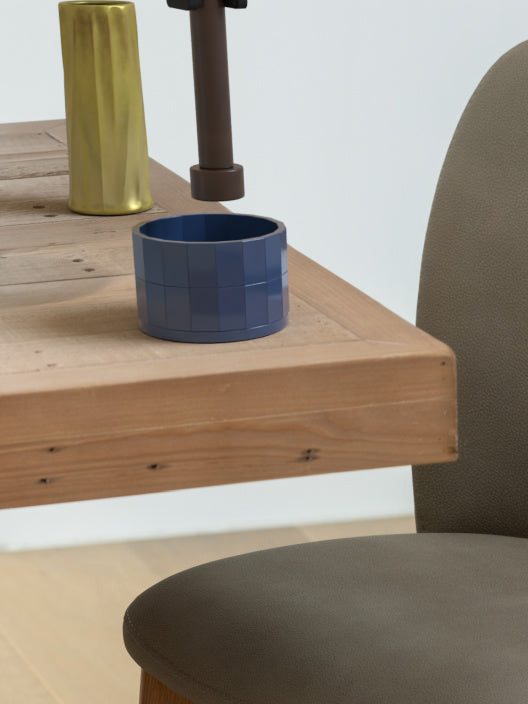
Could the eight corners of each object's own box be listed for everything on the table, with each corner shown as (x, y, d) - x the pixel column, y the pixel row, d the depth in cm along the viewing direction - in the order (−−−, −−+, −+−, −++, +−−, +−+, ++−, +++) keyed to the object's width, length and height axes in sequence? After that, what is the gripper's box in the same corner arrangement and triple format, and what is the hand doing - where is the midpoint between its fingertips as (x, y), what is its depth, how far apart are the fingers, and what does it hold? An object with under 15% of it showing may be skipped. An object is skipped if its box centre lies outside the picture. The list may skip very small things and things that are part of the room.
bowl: (252, 348, 80) (247, 248, 78) (110, 334, 82) (102, 236, 80) (312, 311, 87) (309, 218, 85) (180, 299, 89) (174, 208, 87)
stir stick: (230, 203, 81) (213, -111, 75) (182, 200, 82) (160, -112, 76) (253, 193, 83) (238, -111, 78) (206, 190, 84) (187, -112, 78)
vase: (66, 217, 110) (48, 5, 105) (70, 200, 115) (53, -1, 110) (154, 214, 111) (141, 5, 106) (154, 199, 117) (141, -1, 111)
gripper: (35, -439, 65) (76, 19, 72) (371, -403, 73) (379, 8, 80) (-12, -413, 71) (30, 8, 78) (304, -382, 79) (316, -2, 86)
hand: (206, 5), depth 79 cm, fingers closed on stir stick, 2 cm apart
